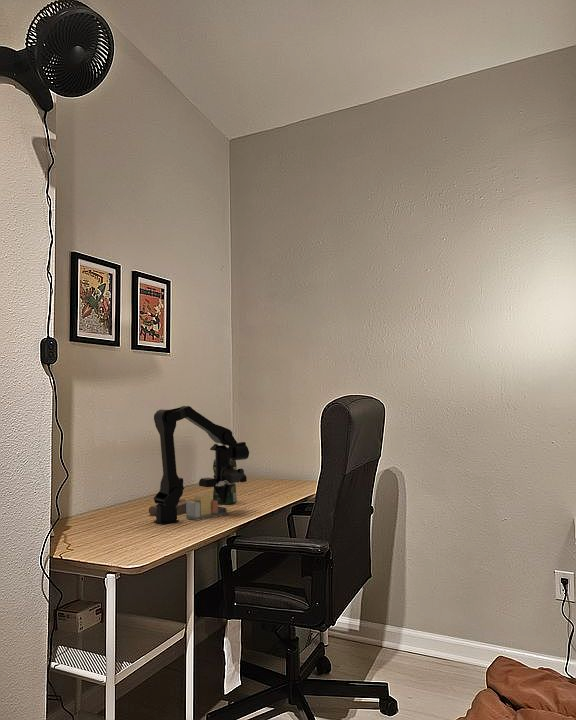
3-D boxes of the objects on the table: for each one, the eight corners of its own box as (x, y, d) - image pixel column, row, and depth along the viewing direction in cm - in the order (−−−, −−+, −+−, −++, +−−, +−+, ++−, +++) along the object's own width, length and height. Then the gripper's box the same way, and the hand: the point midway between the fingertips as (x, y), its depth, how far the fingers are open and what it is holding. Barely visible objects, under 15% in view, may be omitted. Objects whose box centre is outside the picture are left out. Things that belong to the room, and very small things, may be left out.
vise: (195, 520, 215) (195, 503, 216) (186, 518, 220) (186, 501, 220) (226, 514, 225) (226, 498, 225) (217, 512, 229) (217, 496, 230)
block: (200, 515, 218) (200, 496, 218) (194, 514, 221) (194, 495, 221) (212, 514, 221) (211, 494, 222) (205, 512, 224) (205, 493, 225)
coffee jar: (209, 504, 249) (209, 458, 250) (219, 500, 256) (219, 456, 257) (230, 505, 245) (230, 459, 246) (239, 502, 252) (239, 457, 253)
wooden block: (197, 508, 238) (172, 517, 221) (173, 507, 241) (147, 515, 225) (197, 499, 238) (172, 507, 221) (173, 498, 242) (147, 505, 225)
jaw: (213, 513, 221) (213, 501, 221) (204, 511, 225) (204, 499, 225) (217, 512, 222) (217, 500, 222) (208, 510, 226) (208, 498, 227)
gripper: (215, 465, 216) (216, 509, 215) (255, 460, 229) (256, 502, 228) (197, 463, 224) (198, 505, 224) (237, 458, 237) (237, 498, 236)
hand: (223, 503), depth 228 cm, fingers closed
